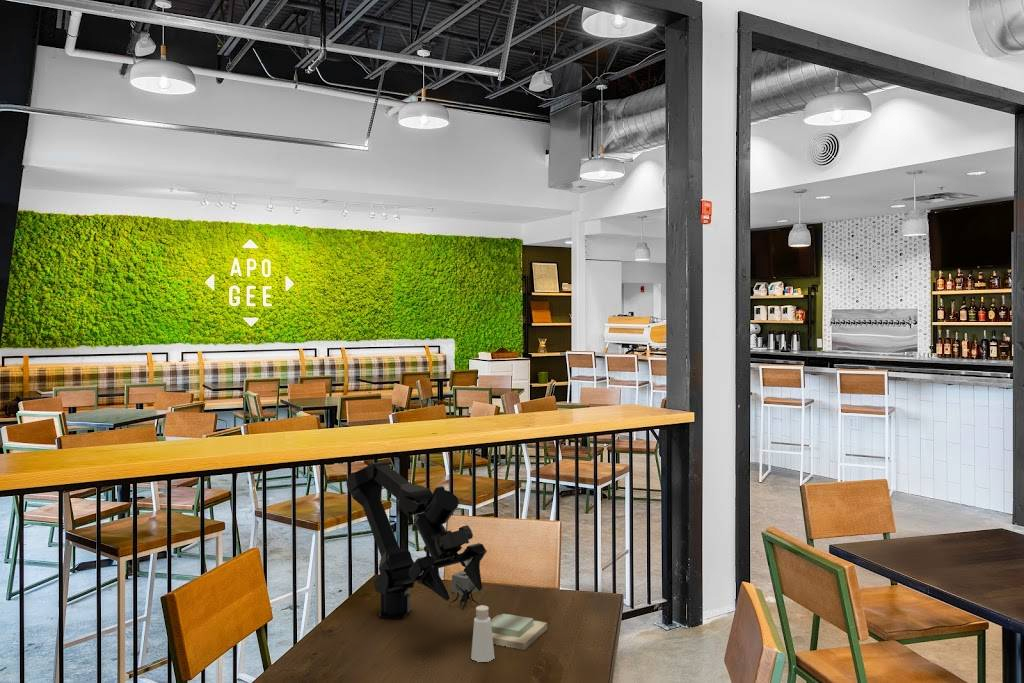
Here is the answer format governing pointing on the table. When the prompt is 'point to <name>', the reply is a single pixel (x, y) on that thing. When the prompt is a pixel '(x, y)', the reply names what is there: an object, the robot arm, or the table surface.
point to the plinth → (523, 638)
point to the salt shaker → (482, 636)
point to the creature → (464, 597)
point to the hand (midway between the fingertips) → (464, 594)
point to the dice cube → (462, 583)
